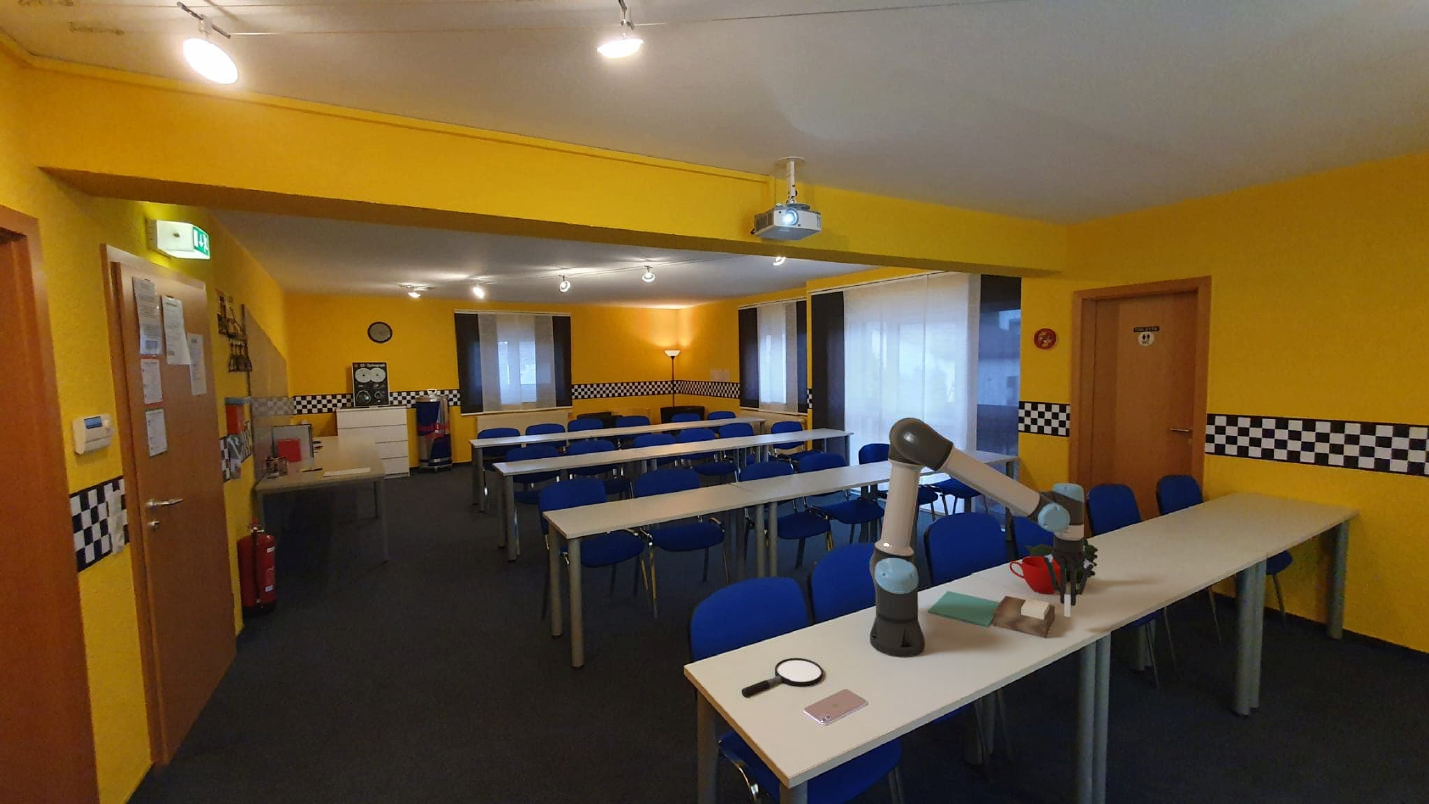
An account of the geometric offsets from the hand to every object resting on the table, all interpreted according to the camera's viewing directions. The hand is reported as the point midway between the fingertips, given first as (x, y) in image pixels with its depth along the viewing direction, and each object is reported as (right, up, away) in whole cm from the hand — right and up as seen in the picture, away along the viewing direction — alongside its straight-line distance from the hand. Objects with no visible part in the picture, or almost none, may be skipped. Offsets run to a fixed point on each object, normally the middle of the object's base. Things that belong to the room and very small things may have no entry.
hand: (1068, 615), depth 168 cm
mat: (-22, -5, +18) cm, 29 cm away
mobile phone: (-76, -10, -33) cm, 83 cm away
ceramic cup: (+9, -3, +32) cm, 33 cm away
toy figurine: (+22, -2, +42) cm, 47 cm away
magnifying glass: (-87, -10, -21) cm, 90 cm away
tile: (-7, -1, +5) cm, 9 cm away
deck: (-9, -5, +8) cm, 13 cm away
